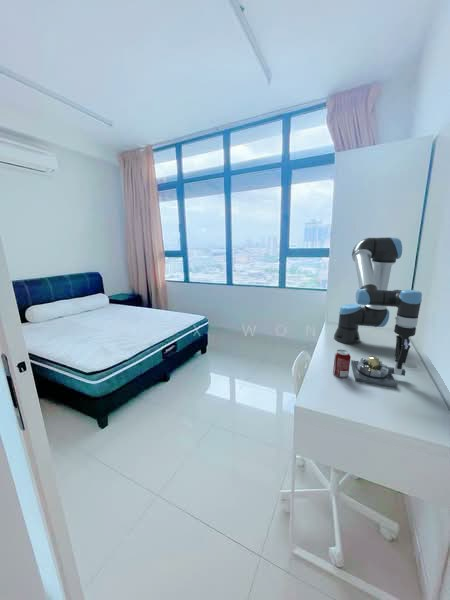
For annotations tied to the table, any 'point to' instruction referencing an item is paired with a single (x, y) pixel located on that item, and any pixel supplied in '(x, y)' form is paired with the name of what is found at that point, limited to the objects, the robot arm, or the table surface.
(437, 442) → the table surface
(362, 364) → the octagonal ring panel
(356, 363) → the base plate
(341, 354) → the soda can
